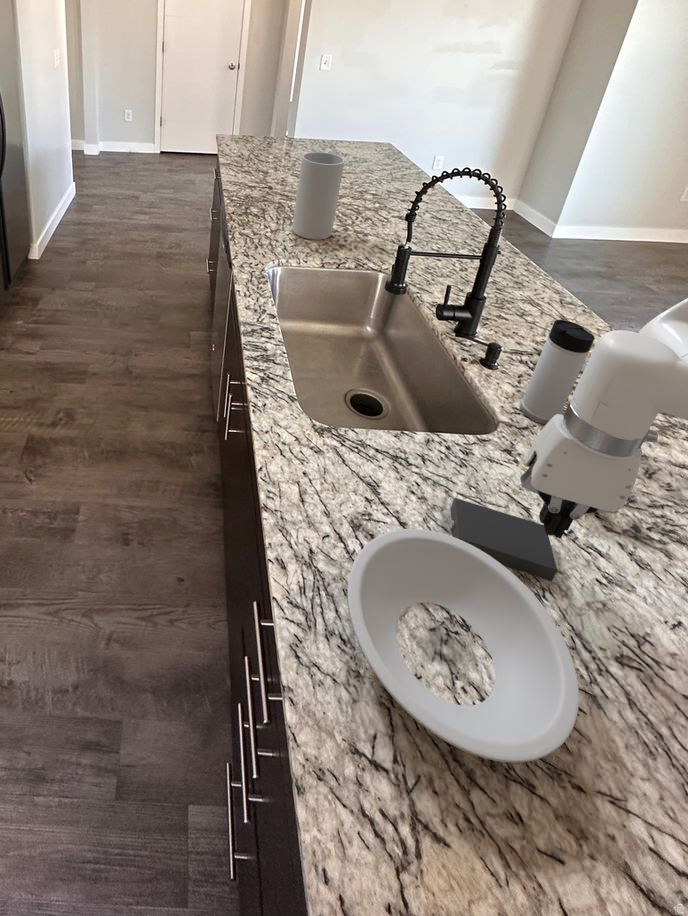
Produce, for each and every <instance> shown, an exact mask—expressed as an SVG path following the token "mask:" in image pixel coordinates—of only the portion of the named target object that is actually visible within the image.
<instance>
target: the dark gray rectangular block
mask: <svg viewBox="0 0 688 916" xmlns="http://www.w3.org/2000/svg"><path fill="white" fill-rule="evenodd" d="M452 500H453V501H452V502H451V503H452V504H451V506H450V508H449V509H450V523H449V529H450V530H452V537H455V538H457V539H460V540H462V541H464V542H466V543H468V544H470V545H472V546H474V547H476V548H478V549H480V550H481V551H483V552H485V553H486V554H488V555H489V556H491V557H492V558H494V559H495V560H496V561H498V562H499V563H501V564H502V565H503V566H504V567H506V568H509V569H512V570H515V571H518V572H520V573H521V572H522V573H525V574H527V575H530V576H534V577H537V578H539V579H542V580H546V581H549V582H553V580H554V578H555V576H556V574H557V572H558V566H557V562H556V560H555V555H554V552H553V548H552V545H551V541H550V535H547V534H546V532H545V528H544V524H543V523H538V522H535V521H532V520H529V519H525V518H522V517H520V516H515V515H512V514H509V513H506V512H504V511H503V512H502V511H499V510H496V509H493V508H489V507H487V506H483V505H481V504H480V505H479V504H477V503H474V502H470V501H466V500H463V499H460V498H457V497H454V498H453V499H452Z"/></svg>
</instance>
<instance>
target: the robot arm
mask: <svg viewBox="0 0 688 916" xmlns="http://www.w3.org/2000/svg"><path fill="white" fill-rule="evenodd" d="M586 364H587V365H586V367H585V369H584V372H582V374H581V376H580V378H579V380H578V381H577V382H578V383H577V385H576V386H575V389H574V392H573V393H572V395H571V398H570V399H569V402H568V404H567V406H566V408H565V411H564V413H563V414H556V415H555V416H554V417H553V418H552V419H551V420H550V421H549V422H548V423H547V424H544V427H543V428H542V429H541V431H540V432H539V433H538V435H537V436H536V438H535V440H534V441H533V443H532V445H531V446H530V448H529V450H528V452H527V454H526V456H525V459H524V464H525V467H527V468H528V469H526V470H525V472H524V473H523V474H521V476H520V477H519V480H520V484H521V487H522V488H523V489H524V490H528V491H529V492H532V493H534V494H537V495H538V496H539V497H540V499H541V500H542V501H543V505H542V507H541V509H540V511H539V514H538V515H539V516H538V518H539V521H540V524H542V525H544V528H545V532H546V534H547V535H548V536H549V537H550V536H554V537H555V538H557V539H562V537H563V535H564V533H565V531H569V529H570V527H571V525H572V523H573V522H574V520H580V519H581V518H582V517H583V516H584V515H587V514H592V513H596V512H598V513H604V514H612V515H615V514H617V513H618V511H620V510H621V509H622V508H623V507H624V506H625V504H626V502H627V501H628V499H629V497H630V495H631V493H632V491H633V489H634V485H635V483H636V481H637V478H638V475H639V470H640V466H641V461H642V455H643V451H642V446H643V444H644V442H651V443H656V442H657V441H658V439H659V433H658V432H657V430H654V429H650V428H651V427H652V425H653V423H654V422H655V419H656V418H657V416H658V414H661V413H663V414H667V415H669V416H673V417H675V418H679V419H682V420H684V421H688V297H687V298H685V299H683V300H682V301H680V302H679V303H676V304H675V305H673V306H672V307H669V308H668V309H666V310H665V311H663V312H661V313H659V314H657V316H655V317H654V318H653V319H651V320H650V321H648V322H647V323H646V324H645V325H644V326H643V327H642V328H640V330H639V331H638V332H637V331H631V330H621V329H620V330H618V329H617V330H610V331H607V332H606V333H604V334H602V335H601V336H600V337H599V339H598V340H597V341H596V344H595V346H594V348H593V349H592V351H591V354H590V357H589V359H588V361H587V362H586Z"/></svg>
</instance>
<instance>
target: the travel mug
mask: <svg viewBox="0 0 688 916" xmlns="http://www.w3.org/2000/svg"><path fill="white" fill-rule="evenodd" d="M595 339H596V336H595V335H594V334H593V333H591V332H590V331H588V330H587V329H585V327H584V326H582V325H581V324H577V323H575V322H573V321H569V320H565V319H556V320H554V322H553V324H552V327H551V329H550V332H549V334H548V336H547V338H546V340H545V343H544V345H543V348H542V350H541V352H540V353H541V355H540V357H539V356H538V357H539V358H538V360H537V362H536V364H535V367H534V370H533V371H532V375H531V377H530V379H529V382H528V384H527V387H526V390H525V392H524V394H523V396H522V399H521V401H520V404H519V408H520V411H521V412H522V413H523V414H524V415H525V416H526V417H527V418H529V419H530V420H532V421H534V422H536V423H538V424H542V425H546V424H547V423H548V422H549V421H550V420H551V419H552V418H553V417H554V416H555V415H556V414H560V415H562V412H563V410H564V408H565V406H566V403H567V401H568V399H569V397H570V396H571V395H570V394H571V392H572V390H573V388H574V386H575V384H576V381H577V379H578V377H579V375H580V373H581V372H582V371H581V368H582V366H583V364H584V363H586V360H587V358H588V355H589V354H590V351H591V348H592V345H593V343H594V341H595Z"/></svg>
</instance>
